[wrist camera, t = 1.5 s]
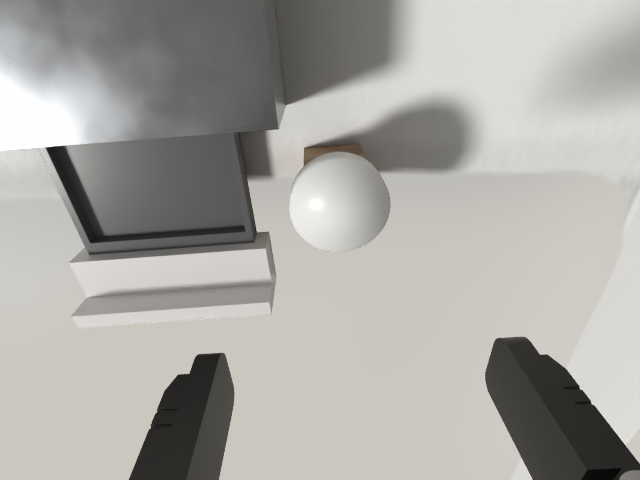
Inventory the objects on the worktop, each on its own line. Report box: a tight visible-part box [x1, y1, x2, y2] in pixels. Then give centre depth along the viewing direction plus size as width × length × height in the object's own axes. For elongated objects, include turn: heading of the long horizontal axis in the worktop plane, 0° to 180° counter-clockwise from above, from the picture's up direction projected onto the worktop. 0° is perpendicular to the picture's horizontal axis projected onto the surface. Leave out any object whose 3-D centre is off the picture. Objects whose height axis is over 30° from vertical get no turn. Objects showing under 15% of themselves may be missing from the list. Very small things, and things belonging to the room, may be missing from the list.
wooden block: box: [304, 144, 367, 166], centre depth 24 cm, size 4×4×5 cm
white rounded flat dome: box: [289, 152, 390, 252], centre depth 21 cm, size 6×6×2 cm
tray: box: [38, 132, 276, 328], centre depth 24 cm, size 15×18×5 cm
